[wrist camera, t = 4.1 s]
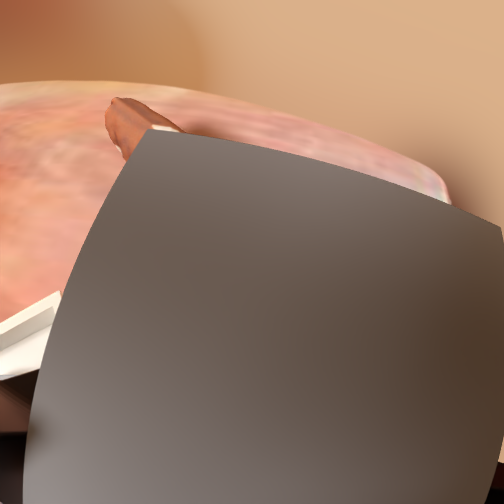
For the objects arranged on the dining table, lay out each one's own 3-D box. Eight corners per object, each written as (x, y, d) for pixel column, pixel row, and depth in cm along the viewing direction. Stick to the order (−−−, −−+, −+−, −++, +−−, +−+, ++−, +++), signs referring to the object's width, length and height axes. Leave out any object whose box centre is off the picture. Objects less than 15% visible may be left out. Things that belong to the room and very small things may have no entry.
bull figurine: (192, 264, 21) (177, 202, 14) (113, 159, 25) (88, 93, 17) (238, 230, 23) (246, 160, 15) (151, 137, 26) (137, 69, 19)
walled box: (180, 499, 14) (173, 520, 11) (47, 526, 10) (27, 539, 7) (80, 304, 19) (58, 290, 16) (-27, 361, 15) (-52, 355, 12)
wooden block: (279, 436, 14) (449, 574, 1) (188, 416, 14) (23, 525, 1) (298, 351, 16) (500, 227, 3) (210, 331, 16) (147, 128, 3)
